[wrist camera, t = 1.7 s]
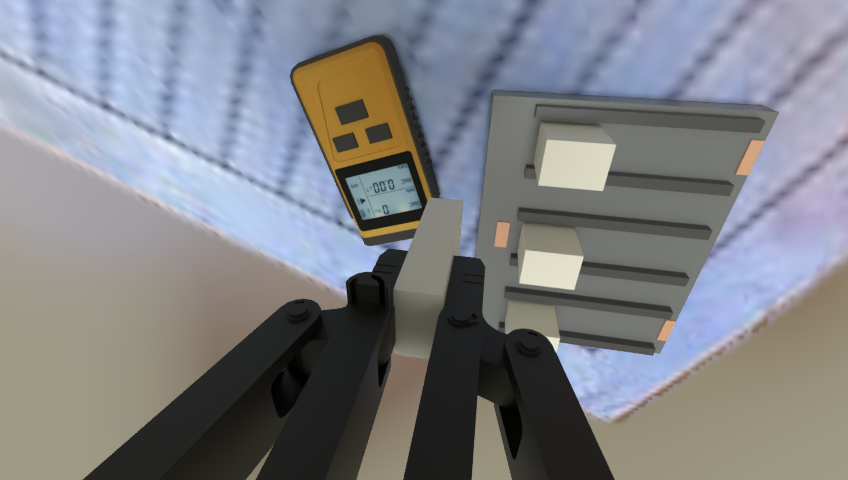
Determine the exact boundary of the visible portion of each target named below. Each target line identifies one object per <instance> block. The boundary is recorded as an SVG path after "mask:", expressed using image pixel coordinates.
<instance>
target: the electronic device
mask: <svg viewBox="0 0 848 480" xmlns="http://www.w3.org/2000/svg"><path fill="white" fill-rule="evenodd" d="M290 78H291V83H292V85H293V88H294V90H295V92H296V94H297V97H298V99H299V101H300V103H301V106H302V108H303V110H304V113H305V115H306V117H307V119H308V122H309V124H310V126H311V128H312V131H313V133H314V135H315V137H316V140H317V142H318V144H319V146H320V149H321V151H322V153H323V156H324V158H325V160H326V162H327V165H328V167H329V169H330V171H331V174H332V176H333V178H334V180H335V183H336V185H337V187H338V189H339V192H340V194H341V196H342V199H343V201H344V203H345V205H346V208H347V210H348V212H349V214H350V216H351V218H352V219H353V218H354V221H355V223H356V225H357V227H358V230H359V232H360V234H361V237H362V239H363V242H364V244H365V245H367V246H373V245H379V244H384V243H389V242H395V241H400V240H406V239H411V238H414V235H415V233H416V230H417V228H418V225H419V222H420V220H421V217H422V215H423V212H424V210H425V207H426V204H427V202H428V199H429V197H430V198H439V195H440V193H439V190H438V187H437V183H436V180H435V177H434V174H433V171H432V167H431V162H432V161H431V160H430V159H429V158H428V155H429V152H428V151H426V148H425V147H426V143H424V142H423V137H424V136H423V134H421V132H420V128H421V126H420V125H418V122H417V120H418V117H417V116H415V113H414V110H415V107H413V106H412V103H411V101H412V98H411V97H409V94H408V91H409V88H407V87H406V84H405V81H404V77H403V74H402V71H401V68H400V65H399V61H398V58H397V55H396V52H395V49H394V46H393V44H392V43H391V41H390V40H389V39H388V38H386V37H384V36H383V35H380V36H372V37H369V38H366V39H363V40H360V41H358V42H355V43H352V44H349V45H347V46H344V47H341V48H338V49H336V50H333V51H330V52H328V53H325V54H322V55H319V56H317V57H314V58H311V59H308V60H306V61H303V62H300V63H298V64H297V65H296V66H295V67H293V69H292V71H291V74H290Z"/></svg>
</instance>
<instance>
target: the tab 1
mask: <svg viewBox="0 0 848 480" xmlns="http://www.w3.org/2000/svg"><path fill="white" fill-rule="evenodd" d="M615 148H616V144H615V142H614V141H613V140H612V139H611V137H610V136H609V135H608V134H607V133H606V131H605V130H604V129H603V128H602V126H601V125H594V124H579V123H564V122H549V121H541V123H540V129H539V134H538V140H537V146H536V151H535V157H534V166H535V172H536V177H537V182H538V185H539V186H550V187H562V188H573V189H584V190H595V191H603V189H604V186H605V182H606V179H607V175H608V172H609V168H610V165H611V161H612V158H613V155H614V151H615Z"/></svg>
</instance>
